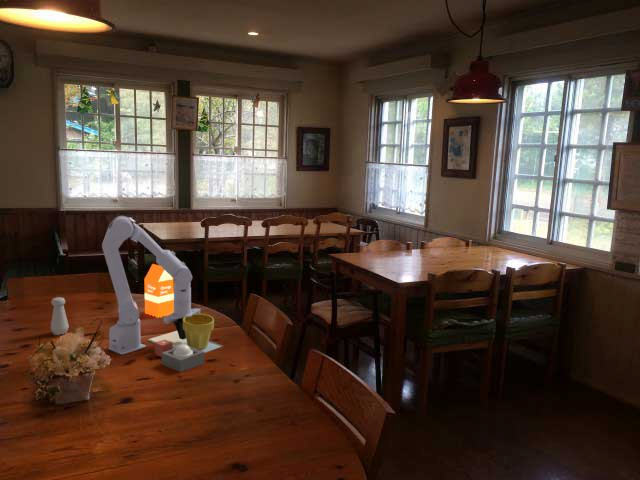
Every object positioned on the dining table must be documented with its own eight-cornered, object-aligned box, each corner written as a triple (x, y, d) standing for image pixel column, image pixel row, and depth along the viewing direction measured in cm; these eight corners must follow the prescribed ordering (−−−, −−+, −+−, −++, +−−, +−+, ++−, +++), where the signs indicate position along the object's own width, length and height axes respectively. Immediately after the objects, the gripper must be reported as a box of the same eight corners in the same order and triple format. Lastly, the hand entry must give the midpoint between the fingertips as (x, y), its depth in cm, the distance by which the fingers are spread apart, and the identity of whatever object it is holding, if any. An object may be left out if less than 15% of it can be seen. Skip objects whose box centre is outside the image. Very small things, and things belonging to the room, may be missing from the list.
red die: (162, 357, 172) (162, 345, 171) (154, 354, 174) (154, 342, 173) (172, 353, 175) (172, 342, 174) (164, 350, 177) (164, 339, 177)
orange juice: (158, 318, 211) (157, 268, 208) (144, 313, 216) (143, 265, 213) (174, 313, 217) (173, 265, 214) (160, 309, 222) (160, 262, 219)
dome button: (181, 364, 163) (181, 349, 162) (169, 359, 166) (169, 345, 166) (197, 359, 168) (196, 344, 167) (184, 354, 171) (184, 340, 170)
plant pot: (175, 348, 178) (177, 321, 176) (190, 337, 188) (191, 311, 186) (204, 354, 176) (206, 327, 174) (217, 342, 186) (219, 316, 184)
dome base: (180, 372, 161) (180, 360, 160) (161, 364, 166) (161, 352, 166) (204, 363, 168) (204, 351, 168) (185, 355, 174) (185, 344, 173)
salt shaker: (72, 331, 193) (70, 296, 191) (63, 336, 187) (61, 300, 185) (56, 330, 193) (55, 295, 191) (47, 335, 188) (45, 299, 185)
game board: (191, 357, 172) (191, 357, 172) (146, 340, 186) (146, 339, 186) (223, 346, 184) (223, 345, 184) (178, 330, 198) (178, 330, 198)
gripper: (172, 307, 175) (173, 346, 177) (206, 298, 187) (206, 335, 189) (159, 303, 179) (159, 341, 181) (193, 294, 191) (193, 331, 193)
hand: (182, 338), depth 185 cm, fingers closed, pressing on plant pot
